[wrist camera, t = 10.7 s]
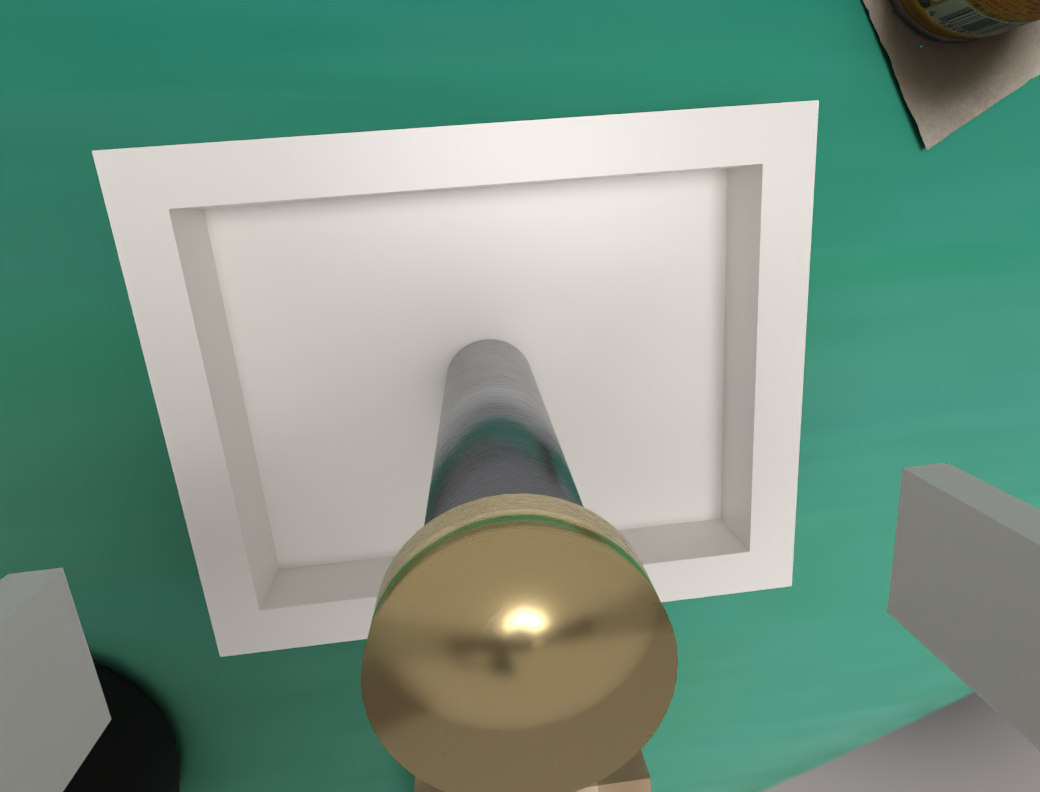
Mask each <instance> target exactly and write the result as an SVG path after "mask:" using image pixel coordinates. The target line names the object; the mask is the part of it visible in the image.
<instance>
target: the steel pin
mask: <svg viewBox="0 0 1040 792" xmlns="http://www.w3.org/2000/svg"><path fill="white" fill-rule="evenodd" d="M677 666H678V657H677V645H676V641H675V636H674V632H673V628H672V626H671V623H670V621H669V618H668V616H667V614H666V611H665V609H664V607H663V605H662V603H661V601H660V599H659V597H658V595H657V593H656V591H655V589H654V587H653V584H652V582H651V580H650V578H649V576H648V574H647V572H646V570H645V568H644V566H643V564H642V562H641V560H640V558H639V557H638V555H637V553H636V552H635V550H634V548H633V547H632V546H631V544H630V543H629V542H628V541H627V540H626V538H625V537H624V536H623V535H622V534H621V533H620V532H619V531H618V530H617V529H616V528H615V527H614V526H612V525H611V524H610V523H609V522H608V521H606V520H605V519H603V518H602V517H600V516H599V515H597V514H596V513H594V512H592V511H590V510H588V509H586V508H584V507H583V504H582V501H581V499H580V496H579V494H578V491H577V488H576V486H575V483H574V480H573V478H572V475H571V473H570V470H569V467H568V465H567V462H566V459H565V457H564V454H563V452H562V449H561V446H560V444H559V441H558V439H557V436H556V433H555V431H554V428H553V425H552V423H551V420H550V418H549V415H548V412H547V410H546V407H545V404H544V402H543V399H542V397H541V394H540V391H539V389H538V386H537V383H536V381H535V378H534V376H533V373H532V370H531V368H530V365H529V363H528V361H527V359H526V358H525V356H524V355H523V354H522V353H521V352H520V351H519V350H518V349H517V348H516V347H514V346H513V345H511V344H509V343H507V342H504V341H501V340H496V339H484V340H479V341H475V342H473V343H470V344H468V345H467V346H465V347H464V348H462V349H461V350H460V351H459V352H458V353H457V354H456V355H455V357H454V358H453V360H452V361H451V363H450V365H449V368H448V372H447V377H446V384H445V390H444V397H443V404H442V410H441V417H440V423H439V430H438V437H437V443H436V450H435V457H434V463H433V470H432V477H431V483H430V490H429V496H428V503H427V510H426V516H425V523H424V526H423V527H422V528H421V529H419V530H418V531H417V532H416V533H415V534H414V535H413V536H412V537H411V538H410V539H409V540H408V541H407V542H406V543H405V544H404V545H403V547H402V548H401V549H400V551H399V552H398V553H397V555H396V556H395V557H394V559H393V560H392V562H391V564H390V566H389V568H388V569H387V571H386V573H385V576H384V578H383V581H382V583H381V586H380V589H379V593H378V597H377V601H376V605H375V609H374V613H373V617H372V621H371V625H370V630H369V634H368V638H367V642H366V646H365V650H364V655H363V659H362V667H361V689H362V698H363V702H364V706H365V710H366V714H367V717H368V719H369V721H370V723H371V726H372V728H373V730H374V732H375V734H376V735H377V737H378V738H379V740H380V742H381V743H382V745H383V746H384V747H385V748H386V750H387V751H388V752H389V753H390V754H391V756H392V757H393V758H394V759H395V760H396V761H397V762H398V763H400V764H401V765H402V766H403V767H404V768H405V769H406V770H407V771H409V772H410V773H412V774H413V775H415V776H416V777H418V778H419V779H421V780H422V781H424V782H426V783H428V784H430V785H431V786H433V787H435V788H437V789H439V790H442V791H445V792H576V791H578V790H581V789H583V788H586V787H589V786H590V785H592V784H594V783H596V782H598V781H600V780H602V779H604V778H606V777H607V776H609V775H610V774H612V773H613V772H615V771H616V770H617V769H619V768H620V767H622V766H623V765H624V764H625V763H626V762H628V761H629V760H630V759H631V758H632V757H634V756H635V755H636V754H637V753H638V752H639V750H640V749H641V748H642V747H643V746H644V745H645V744H646V743H647V742H648V741H649V739H650V738H651V736H652V735H653V734H654V732H655V731H656V730H657V728H658V727H659V725H660V723H661V721H662V719H663V718H664V716H665V714H666V712H667V709H668V707H669V704H670V702H671V699H672V696H673V692H674V688H675V684H676V679H677Z"/></svg>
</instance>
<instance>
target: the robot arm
mask: <svg viewBox="0 0 1040 792" xmlns="http://www.w3.org/2000/svg"><path fill="white" fill-rule="evenodd" d="M887 612H888V613H889V614H890V615H891V616H892V617H893V618H895V619H896V620H897V621H898V622H899V623H900V624H901V625H902V626H903V627H904V628H905V629H907V630H908V631H909V632H910V633H911V634H912V635H913V636H914V637H915V638H916V639H918V640H919V641H920V642H921V643H922V644H923V645H924V646H925V647H926V648H927V649H929V650H930V651H931V652H932V653H933V654H934V655H935V656H936V657H937V658H938V659H940V660H941V661H942V662H943V663H944V664H945V665H946V666H947V667H948V668H949V669H950V670H952V671H953V672H954V673H955V674H956V675H957V676H958V677H959V678H960V679H961V680H963V681H964V682H965V683H966V684H967V685H968V686H969V687H970V688H971V689H972V690H974V691H975V692H976V693H977V694H978V695H979V696H980V697H981V698H982V699H983V700H985V701H986V702H987V703H988V704H989V705H990V706H991V707H992V708H993V709H994V710H996V711H997V712H998V713H999V714H1000V715H1001V716H1002V717H1003V718H1004V719H1005V720H1007V721H1008V722H1009V723H1010V724H1011V725H1012V726H1013V727H1014V728H1015V729H1016V730H1017V731H1019V732H1020V733H1021V734H1022V735H1023V736H1024V737H1025V738H1026V739H1027V740H1028V741H1030V742H1031V743H1032V744H1033V745H1034V746H1035V747H1036V748H1037V749H1038V750H1039V751H1040V510H1039V509H1037V508H1035V507H1033V506H1031V505H1029V504H1027V503H1025V502H1023V501H1021V500H1019V499H1017V498H1015V497H1013V496H1011V495H1009V494H1008V493H1006V492H1004V491H1002V490H1000V489H998V488H996V487H994V486H992V485H990V484H988V483H986V482H984V481H982V480H980V479H978V478H976V477H974V476H972V475H970V474H968V473H966V472H964V471H962V470H960V469H958V468H956V467H954V466H952V465H950V464H948V463H940V464H931V465H923V466H914V467H906V468H903V469H902V478H901V488H900V497H899V507H898V516H897V526H896V535H895V545H894V554H893V563H892V573H891V582H890V592H889V601H888V611H887ZM110 721H111V716H110V713H109V710H108V707H107V704H106V701H105V697H104V694H103V691H102V688H101V685H100V682H99V679H98V676H97V673H96V669H95V666H94V663H93V660H92V657H91V654H90V651H89V648H88V644H87V641H86V638H85V635H84V632H83V629H82V626H81V623H80V620H79V616H78V613H77V610H76V607H75V604H74V601H73V598H72V595H71V592H70V588H69V585H68V582H67V579H66V576H65V573H64V570H63V568H55V569H46V570H38V571H30V572H21V573H13V574H7V575H6V576H5V577H4V578H2V579H1V580H0V792H63V791H64V790H65V788H66V787H67V785H68V784H69V782H70V781H71V779H72V778H73V776H74V775H75V773H76V772H77V770H78V769H79V767H80V766H81V764H82V763H83V761H84V760H85V758H86V757H87V755H88V754H89V752H90V751H91V749H92V748H93V746H94V745H95V743H96V742H97V740H98V739H99V737H100V736H101V734H102V733H103V731H104V730H105V728H106V727H107V725H108V724H109V722H110Z"/></svg>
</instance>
